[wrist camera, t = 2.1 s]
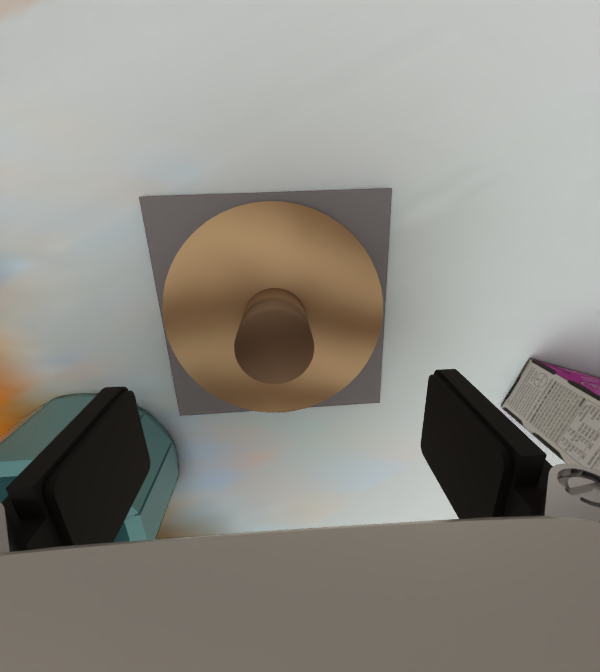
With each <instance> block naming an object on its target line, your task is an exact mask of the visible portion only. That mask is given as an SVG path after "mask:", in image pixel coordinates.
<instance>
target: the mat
mask: <svg viewBox="0 0 600 672" xmlns="http://www.w3.org/2000/svg"><path fill="white" fill-rule="evenodd" d="M391 196H392V188H385V189H355V190H326V191H296V192H266V193H237V194H207V195H177V196H148V197H139V200H140V205H141V210H142V216H143V221H144V226H145V232H146V237H147V242H148V248H149V253H150V258H151V264H152V269H153V274H154V279H155V285H156V290H157V295H158V301H159V306H160V311H161V317H162V322H163V327H164V333H165V338H166V343H167V348H168V354H169V359H170V364H171V370H172V375H173V380H174V386H175V391H176V396H177V402H178V407H179V412H180V416H183V415H198V414H213V413H229V412H244V411H253V410H248V409H244V408H240V407H237V406H235V405H232V404H229V403H227V402H225V401H223V400H221V399H219V398H217V397H215V396H214V395H212V394H211V393H209V392H207V391H206V390H205V389H204V388H202V387H201V386H200V385H199V384H198V383H196V382H195V380H194V379H193V378H192V377H191V376H190V375H189V374H188V373H187V372H186V371H185V369H184V368H183V367H182V365H181V364H180V363H179V361H178V359H177V357H176V356H175V354H174V352H173V350H172V348H171V345H170V343H169V340H168V338H167V334H166V330H165V326H164V320H163V311H162V308H163V292H164V286H165V281H166V278H167V275H168V272H169V268H170V266H171V264H172V262H173V260H174V258H175V256H176V254H177V253H178V251H179V250H180V248H181V247H182V245H183V244H184V242H185V241H186V240H187V239H188V238H189V237H190V236H191V235H192V234H193V233H194V232H195V231H196V230H197V229H198V228H199V227H200V226H202V225H203V224H204V223H205V222H207V221H208V220H210V219H211V218H213V217H215V216H217V215H218V214H220V213H222V212H224V211H227V210H229V209H231V208H234V207H237V206H241V205H244V204H248V203H253V202H263V201H283V202H289V203H295V204H300V205H303V206H306V207H309V208H313V209H315V210H317V211H319V212H322V213H324V214H326V215H328V216H330V217H331V218H333V219H334V220H336V221H337V222H338V223H340V224H341V225H343V226H344V227H345V228H346V229H347V230H348V231H349V232H351V233H352V234H353V235H354V236H355V238H356V239H357V240H358V241H359V242H360V244H361V245H362V246H363V247H364V249H365V250H366V252H367V254H368V255H369V257H370V258H371V260H372V263H373V265H374V267H375V269H376V271H377V274H378V278H379V281H380V285H381V290H382V297H383V318H382V326H381V330H380V334H379V338H378V341H377V343H376V346H375V348H374V351H373V353H372V355H371V356H370V358H369V360H368V362H367V363H366V365H365V366H364V367H363V369H362V370H361V372H360V373H359V374H358V375H357V376H356V377H355V378H354V379H353V380H352V381H351V383H349V384H348V385H347V386H346V387H345V388H343V389H342V390H341V391H339V392H338V393H336V394H335V395H333V396H332V397H330V398H328V399H326V400H324V401H322V402H320V403H318V404H315V405H313V406H310V407H320V406H336V405H351V404H366V403H380V387H381V369H382V352H383V335H384V317H385V300H386V283H387V265H388V248H389V231H390V213H391Z"/></svg>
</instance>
